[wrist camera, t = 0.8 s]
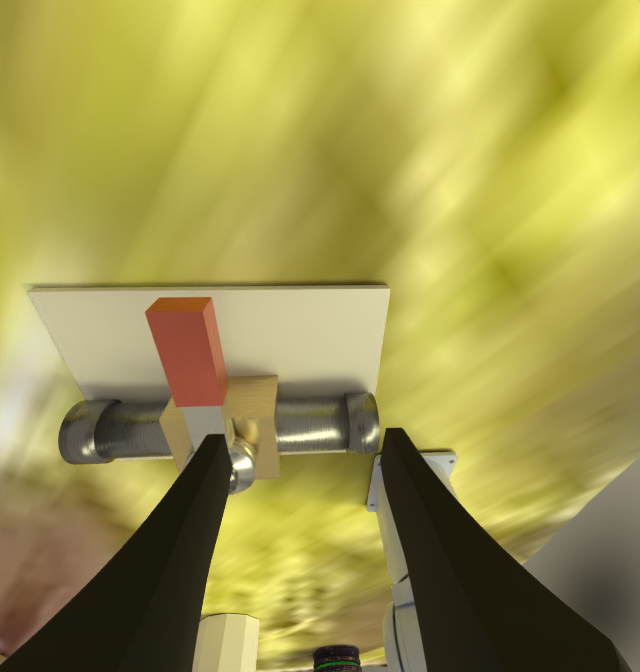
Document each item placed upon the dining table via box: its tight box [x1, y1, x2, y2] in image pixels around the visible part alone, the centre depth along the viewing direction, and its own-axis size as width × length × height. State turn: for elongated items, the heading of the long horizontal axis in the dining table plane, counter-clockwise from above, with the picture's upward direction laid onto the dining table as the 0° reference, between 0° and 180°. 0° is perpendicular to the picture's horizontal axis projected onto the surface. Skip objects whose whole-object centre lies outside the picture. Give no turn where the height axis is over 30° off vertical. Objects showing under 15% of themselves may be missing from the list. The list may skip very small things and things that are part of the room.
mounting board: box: [27, 285, 390, 461], centre depth 23 cm, size 16×22×1 cm
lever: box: [145, 297, 257, 495], centre depth 17 cm, size 14×4×2 cm, turn 179°
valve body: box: [58, 375, 380, 479], centre depth 22 cm, size 6×21×5 cm, turn 89°
